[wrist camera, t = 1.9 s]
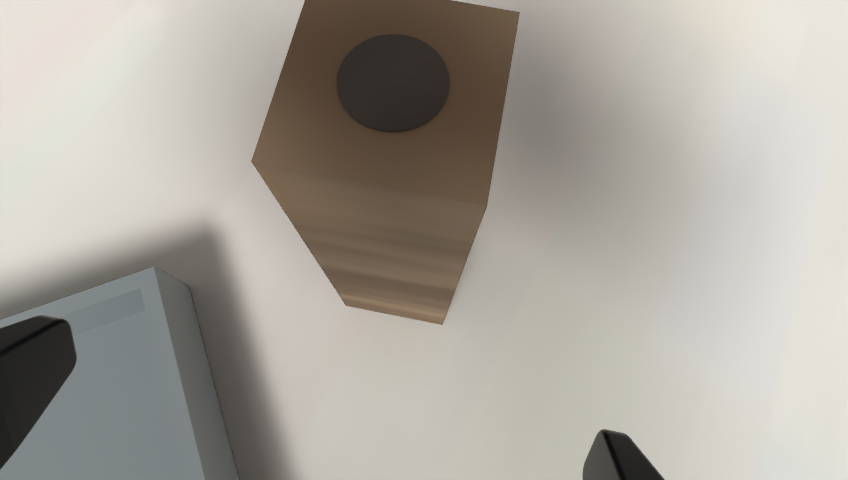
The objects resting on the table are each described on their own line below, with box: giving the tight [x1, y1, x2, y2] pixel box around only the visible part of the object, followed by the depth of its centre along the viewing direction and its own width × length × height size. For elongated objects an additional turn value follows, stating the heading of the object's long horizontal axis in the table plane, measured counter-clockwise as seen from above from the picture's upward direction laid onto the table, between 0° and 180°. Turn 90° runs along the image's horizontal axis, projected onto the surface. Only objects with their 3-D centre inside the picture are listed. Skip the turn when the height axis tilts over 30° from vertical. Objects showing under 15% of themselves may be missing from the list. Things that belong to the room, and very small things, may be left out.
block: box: [252, 0, 520, 325], centre depth 15 cm, size 4×4×13 cm
